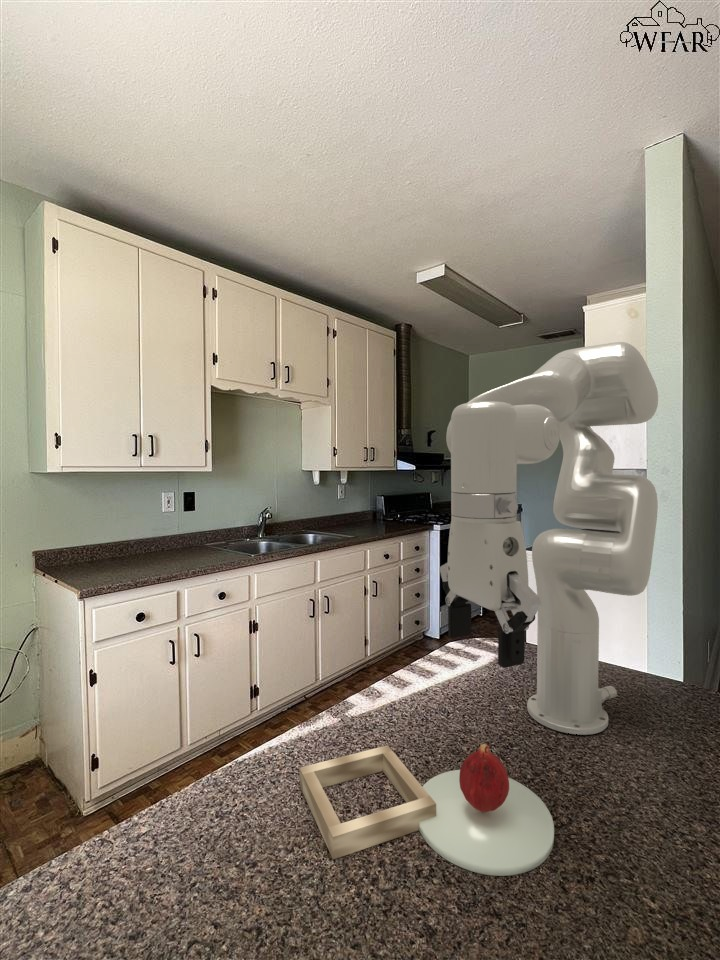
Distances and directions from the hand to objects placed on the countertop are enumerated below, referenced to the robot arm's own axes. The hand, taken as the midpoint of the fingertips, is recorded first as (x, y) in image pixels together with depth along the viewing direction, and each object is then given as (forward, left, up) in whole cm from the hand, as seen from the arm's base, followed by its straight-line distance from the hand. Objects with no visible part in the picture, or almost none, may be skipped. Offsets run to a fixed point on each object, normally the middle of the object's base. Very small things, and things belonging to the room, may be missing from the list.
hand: (483, 649), depth 58 cm
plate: (+1, +1, -20) cm, 20 cm away
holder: (+13, -7, -20) cm, 25 cm away
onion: (0, +1, -20) cm, 20 cm away
